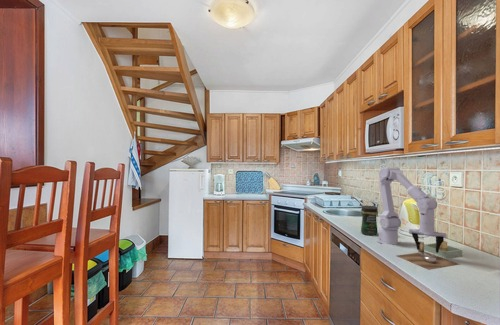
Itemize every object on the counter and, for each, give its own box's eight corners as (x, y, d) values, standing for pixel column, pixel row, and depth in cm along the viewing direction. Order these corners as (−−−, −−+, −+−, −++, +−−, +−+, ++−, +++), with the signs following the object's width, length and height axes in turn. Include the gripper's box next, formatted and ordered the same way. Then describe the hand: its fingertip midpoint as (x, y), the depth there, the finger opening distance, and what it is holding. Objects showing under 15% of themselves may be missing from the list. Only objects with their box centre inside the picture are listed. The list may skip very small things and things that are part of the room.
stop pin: (435, 252, 121) (435, 240, 121) (441, 251, 121) (441, 240, 122) (443, 255, 117) (443, 243, 117) (449, 254, 118) (449, 242, 118)
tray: (422, 251, 123) (422, 244, 123) (438, 249, 126) (438, 242, 126) (445, 259, 112) (445, 252, 112) (462, 257, 115) (462, 249, 116)
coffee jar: (362, 235, 152) (362, 206, 152) (360, 231, 159) (359, 204, 160) (379, 236, 149) (379, 207, 150) (375, 232, 157) (375, 205, 157)
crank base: (395, 257, 115) (395, 255, 115) (425, 253, 120) (425, 251, 120) (428, 272, 99) (428, 269, 99) (461, 266, 105) (461, 263, 105)
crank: (438, 263, 105) (438, 249, 105) (427, 262, 106) (427, 249, 106) (424, 254, 116) (424, 241, 116) (414, 253, 117) (414, 241, 117)
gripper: (409, 222, 115) (409, 250, 115) (447, 226, 107) (448, 256, 107) (408, 219, 121) (408, 246, 121) (444, 223, 113) (445, 251, 113)
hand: (427, 250), depth 114 cm, fingers open, 7 cm apart
